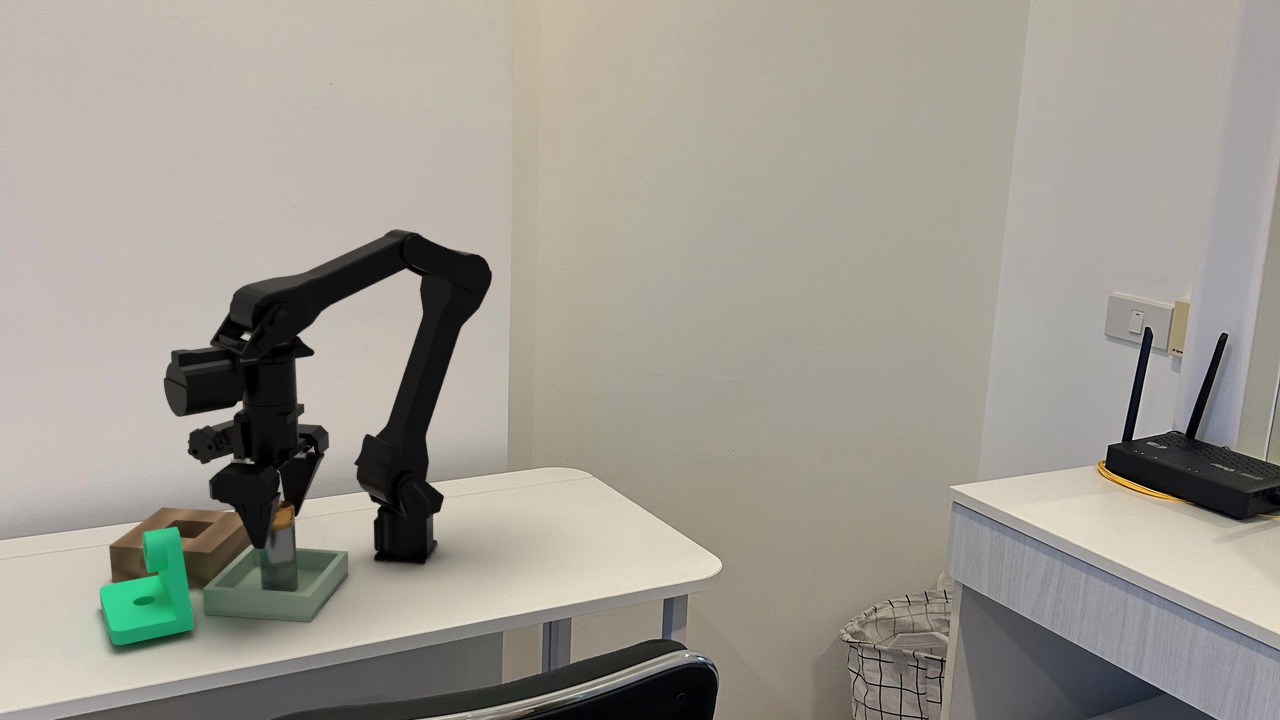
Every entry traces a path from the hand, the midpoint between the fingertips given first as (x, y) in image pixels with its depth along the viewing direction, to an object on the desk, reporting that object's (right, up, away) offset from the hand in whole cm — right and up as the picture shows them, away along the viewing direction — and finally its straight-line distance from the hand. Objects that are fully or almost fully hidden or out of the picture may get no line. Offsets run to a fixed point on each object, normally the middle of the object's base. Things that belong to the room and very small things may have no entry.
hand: (276, 531), depth 120 cm
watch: (-10, -3, +21) cm, 23 cm away
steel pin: (0, -7, +2) cm, 7 cm away
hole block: (-14, -5, +9) cm, 17 cm away
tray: (0, -7, +2) cm, 8 cm away
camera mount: (-12, -9, -5) cm, 16 cm away
